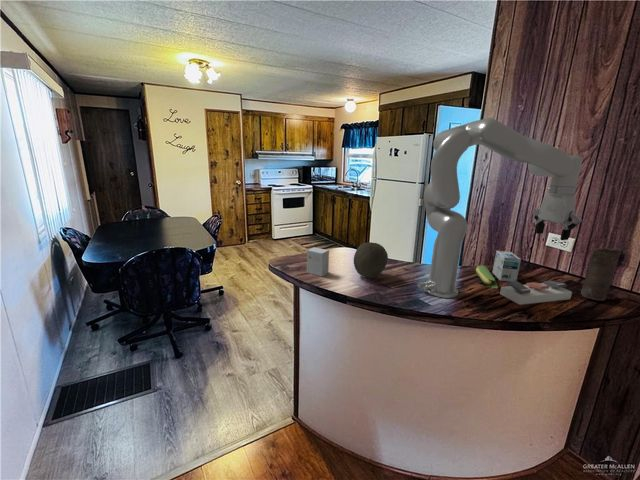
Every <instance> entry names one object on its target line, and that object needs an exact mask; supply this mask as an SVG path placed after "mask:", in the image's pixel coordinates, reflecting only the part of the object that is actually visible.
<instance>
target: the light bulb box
mask: <svg viewBox="0 0 640 480" xmlns="http://www.w3.org/2000/svg"><path fill="white" fill-rule="evenodd" d="M495 251H496V252H495V257H494V262H493V267H492V274H494V275H495V277H496V278H497V279H498V280H499V281H501V282H508V283H509V282H518V281H517V280H518V276H519V271H520V266H521V262H522V261H521V260H522V258H520V257H519V256H517V255H516V254H515V253H514V252H512V251H505V250H504V251H503V250H495Z"/></svg>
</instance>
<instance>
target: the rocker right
mask: <svg viewBox="0 0 640 480" xmlns="http://www.w3.org/2000/svg"><path fill="white" fill-rule="evenodd" d="M542 283H543V284H545V285H549V286H553V287H557V288H561V287H562V288H567V286H568V285H567V284H566V283H562V282H558V281H553V280H547V281H546V280H545V281H543V282H542Z"/></svg>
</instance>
